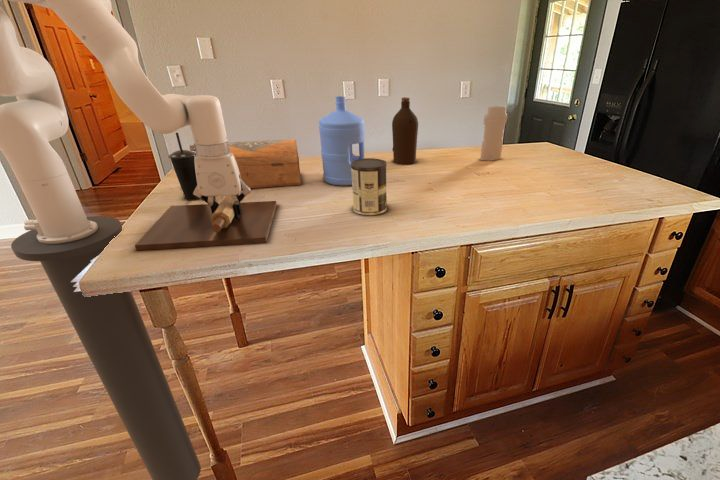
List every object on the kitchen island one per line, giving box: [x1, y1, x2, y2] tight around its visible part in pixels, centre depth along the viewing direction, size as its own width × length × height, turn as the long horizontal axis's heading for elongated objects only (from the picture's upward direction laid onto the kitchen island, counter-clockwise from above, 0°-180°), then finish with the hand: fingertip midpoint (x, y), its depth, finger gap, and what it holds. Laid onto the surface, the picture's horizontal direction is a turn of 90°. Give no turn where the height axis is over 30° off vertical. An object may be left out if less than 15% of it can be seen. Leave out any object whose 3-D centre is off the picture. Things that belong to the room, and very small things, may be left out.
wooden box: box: [228, 139, 302, 189], centre depth 137 cm, size 30×16×14 cm, turn 105°
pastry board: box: [134, 200, 278, 252], centre depth 107 cm, size 30×26×2 cm
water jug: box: [318, 95, 366, 187], centre depth 136 cm, size 16×16×28 cm
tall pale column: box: [479, 104, 508, 161], centre depth 165 cm, size 11×4×22 cm, turn 106°
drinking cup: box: [168, 132, 200, 201], centre depth 121 cm, size 8×8×20 cm
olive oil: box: [391, 97, 419, 165], centre depth 160 cm, size 11×11×25 cm
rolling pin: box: [211, 195, 235, 232], centre depth 105 cm, size 4×24×4 cm, turn 10°
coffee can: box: [351, 157, 388, 216], centre depth 115 cm, size 10×10×14 cm
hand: (228, 216), depth 106 cm, fingers closed on rolling pin, 4 cm apart
